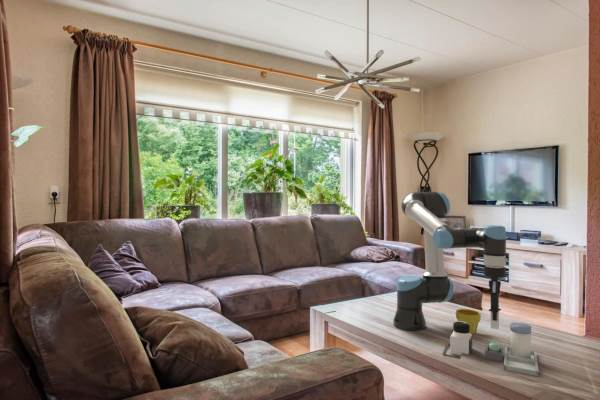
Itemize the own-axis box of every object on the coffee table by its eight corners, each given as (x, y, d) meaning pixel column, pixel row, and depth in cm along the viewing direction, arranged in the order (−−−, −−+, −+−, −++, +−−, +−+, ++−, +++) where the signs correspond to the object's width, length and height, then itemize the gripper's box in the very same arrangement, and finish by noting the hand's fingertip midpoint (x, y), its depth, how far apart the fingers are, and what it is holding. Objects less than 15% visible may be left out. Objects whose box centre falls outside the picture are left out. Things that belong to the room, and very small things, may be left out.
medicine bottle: (469, 357, 152) (469, 326, 152) (450, 353, 156) (450, 323, 156) (472, 351, 158) (472, 321, 158) (453, 347, 162) (453, 318, 162)
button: (488, 352, 149) (488, 344, 149) (489, 349, 152) (489, 341, 152) (499, 354, 147) (499, 346, 147) (499, 351, 150) (499, 343, 150)
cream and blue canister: (509, 358, 148) (510, 326, 148) (510, 351, 154) (510, 321, 154) (531, 362, 145) (531, 329, 144) (530, 355, 151) (531, 324, 151)
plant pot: (480, 331, 181) (480, 310, 181) (480, 338, 172) (480, 316, 172) (456, 328, 186) (456, 307, 186) (455, 335, 176) (455, 313, 176)
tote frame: (442, 355, 154) (442, 354, 154) (447, 344, 166) (447, 343, 166) (477, 361, 148) (477, 360, 148) (479, 350, 159) (479, 349, 159)
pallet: (483, 370, 141) (483, 358, 141) (487, 349, 160) (487, 338, 160) (542, 381, 132) (542, 369, 132) (539, 357, 152) (539, 346, 152)
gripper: (505, 269, 141) (505, 335, 142) (506, 264, 153) (506, 324, 153) (482, 268, 145) (482, 331, 145) (485, 262, 156) (485, 321, 157)
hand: (494, 328), depth 149 cm, fingers closed
